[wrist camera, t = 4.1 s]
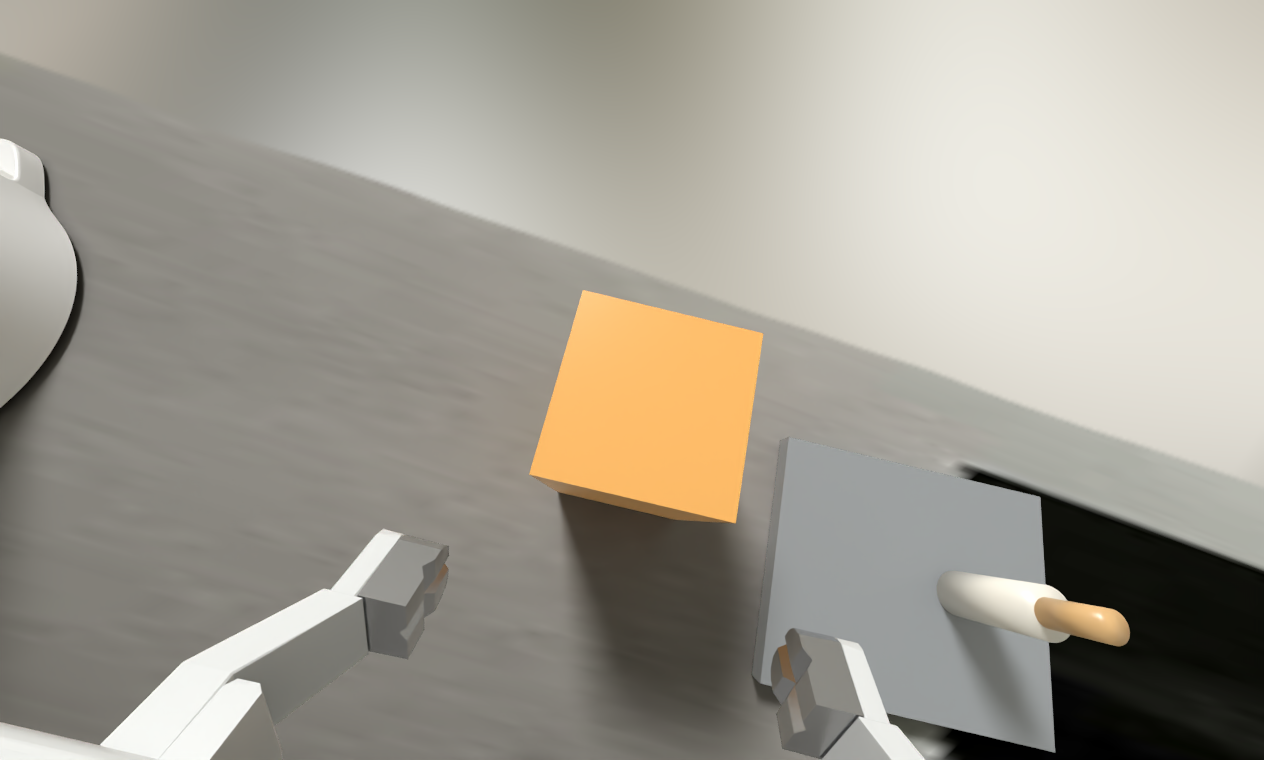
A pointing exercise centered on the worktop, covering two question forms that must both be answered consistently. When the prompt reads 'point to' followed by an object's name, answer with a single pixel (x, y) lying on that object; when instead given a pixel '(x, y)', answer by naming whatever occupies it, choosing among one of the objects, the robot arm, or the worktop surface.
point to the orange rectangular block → (651, 411)
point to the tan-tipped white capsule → (1028, 609)
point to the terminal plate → (906, 586)
